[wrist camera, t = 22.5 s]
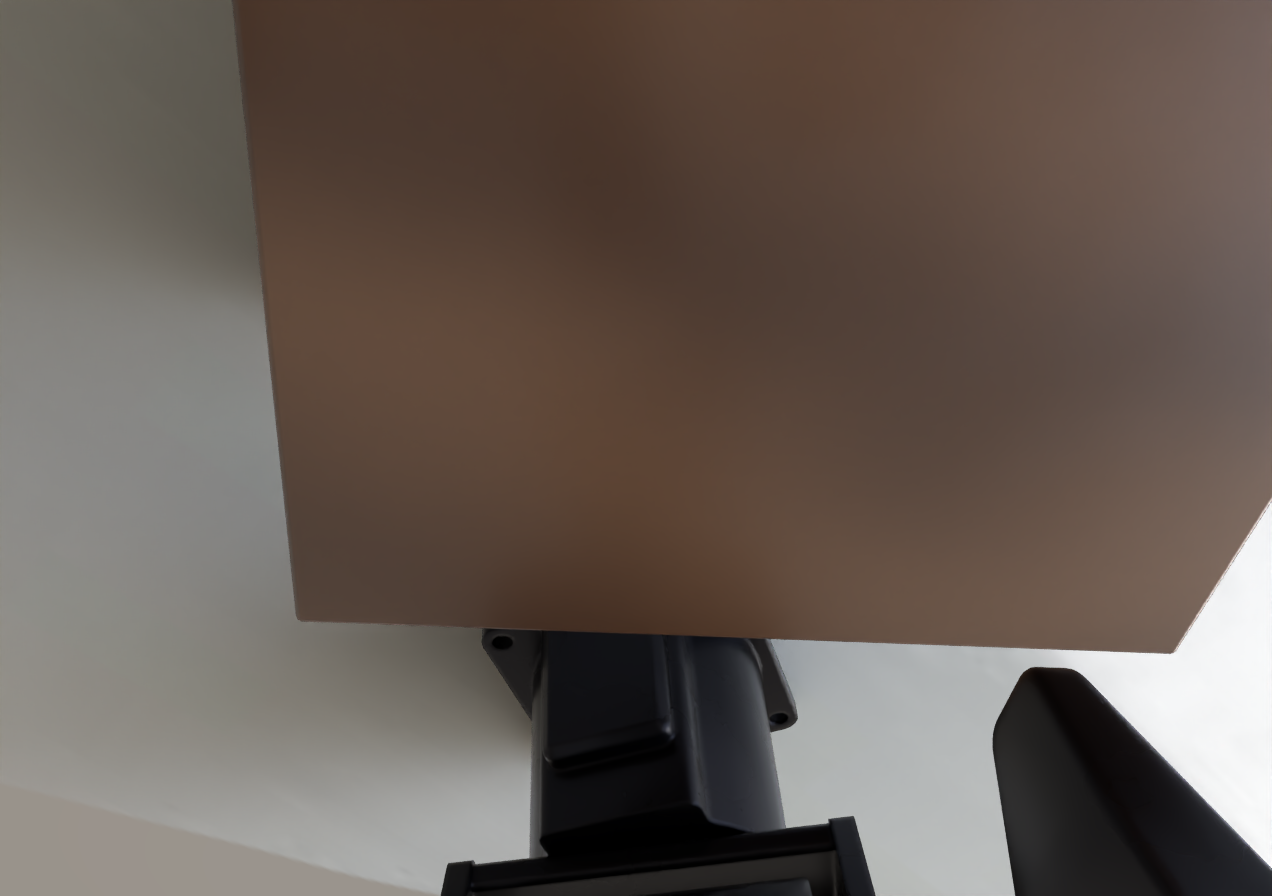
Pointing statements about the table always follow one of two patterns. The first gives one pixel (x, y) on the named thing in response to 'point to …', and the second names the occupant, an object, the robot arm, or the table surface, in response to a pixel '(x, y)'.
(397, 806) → the table surface
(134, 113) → the table surface
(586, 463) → the cabinet
